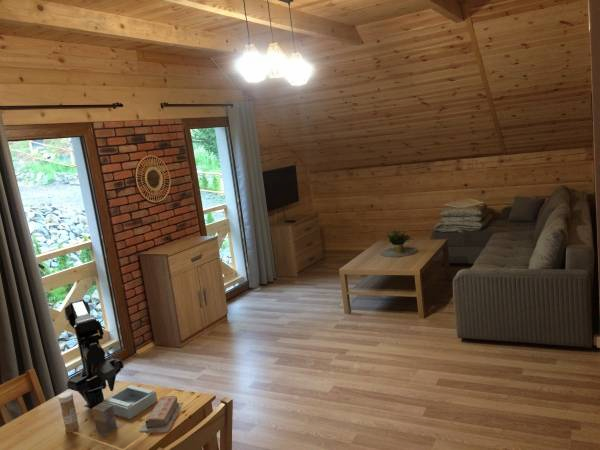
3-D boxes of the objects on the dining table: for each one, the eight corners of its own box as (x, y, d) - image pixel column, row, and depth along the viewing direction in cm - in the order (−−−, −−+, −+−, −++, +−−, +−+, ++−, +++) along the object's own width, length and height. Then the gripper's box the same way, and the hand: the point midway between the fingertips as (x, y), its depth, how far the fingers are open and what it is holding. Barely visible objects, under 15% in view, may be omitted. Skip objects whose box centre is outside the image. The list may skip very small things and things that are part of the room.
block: (107, 432, 179) (103, 411, 178) (96, 429, 182) (92, 408, 181) (116, 426, 183) (112, 405, 181) (105, 423, 186) (101, 402, 184)
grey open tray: (104, 412, 195) (102, 400, 194) (132, 395, 205) (130, 384, 205) (129, 420, 187) (127, 407, 186) (157, 402, 198) (155, 390, 197)
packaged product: (155, 395, 194) (181, 393, 193) (157, 407, 195) (183, 405, 194) (137, 422, 177) (166, 420, 176) (139, 435, 178) (168, 433, 177)
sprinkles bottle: (62, 432, 184) (55, 397, 182) (72, 425, 188) (65, 390, 186) (72, 433, 182) (65, 398, 180) (82, 426, 186) (75, 391, 184)
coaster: (92, 432, 182) (91, 431, 181) (108, 422, 187) (108, 420, 187) (104, 437, 178) (104, 435, 178) (121, 426, 183) (121, 424, 183)
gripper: (82, 370, 166) (91, 415, 168) (130, 346, 181) (137, 388, 184) (62, 365, 172) (71, 408, 174) (109, 342, 187) (117, 383, 190)
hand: (100, 397), depth 180 cm, fingers open, 9 cm apart
